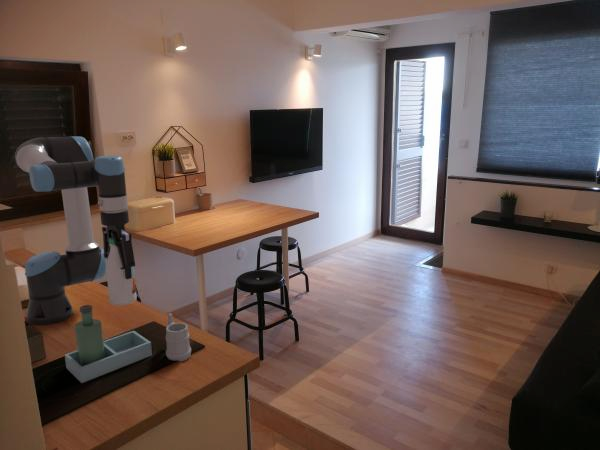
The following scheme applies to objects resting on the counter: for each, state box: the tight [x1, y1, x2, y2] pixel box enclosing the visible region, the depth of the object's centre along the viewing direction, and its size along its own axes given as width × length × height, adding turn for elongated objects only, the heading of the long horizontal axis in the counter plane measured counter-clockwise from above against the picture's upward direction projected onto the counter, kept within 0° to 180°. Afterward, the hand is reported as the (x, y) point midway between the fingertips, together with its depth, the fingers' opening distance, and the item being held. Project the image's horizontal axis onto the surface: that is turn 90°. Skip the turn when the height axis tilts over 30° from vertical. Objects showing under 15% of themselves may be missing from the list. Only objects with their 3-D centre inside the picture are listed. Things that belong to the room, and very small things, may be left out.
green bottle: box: [74, 304, 105, 367], centre depth 138 cm, size 7×7×19 cm
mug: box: [165, 313, 192, 362], centre depth 148 cm, size 8×12×12 cm, turn 34°
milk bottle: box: [105, 237, 137, 306], centre depth 142 cm, size 8×8×20 cm
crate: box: [64, 330, 153, 384], centre depth 144 cm, size 11×21×5 cm, turn 135°
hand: (121, 284), depth 143 cm, fingers closed on milk bottle, 7 cm apart
